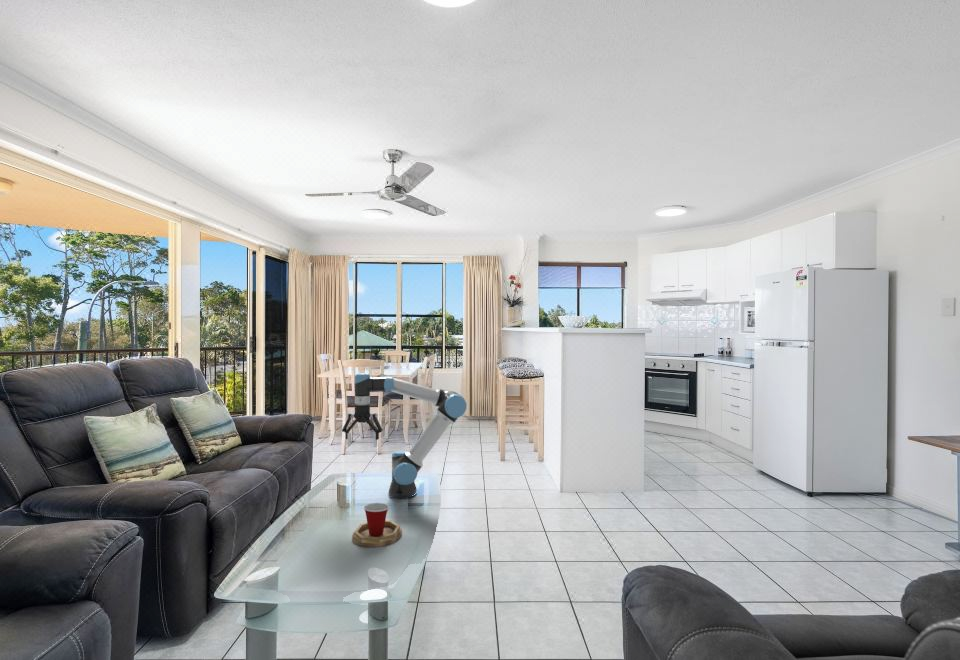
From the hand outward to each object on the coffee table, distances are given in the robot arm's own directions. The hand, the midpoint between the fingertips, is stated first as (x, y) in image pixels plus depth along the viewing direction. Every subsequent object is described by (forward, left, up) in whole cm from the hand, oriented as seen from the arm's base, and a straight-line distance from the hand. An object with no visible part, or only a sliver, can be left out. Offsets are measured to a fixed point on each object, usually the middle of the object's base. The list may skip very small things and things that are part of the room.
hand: (362, 445), depth 226 cm
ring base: (+10, +35, -31) cm, 47 cm away
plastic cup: (+10, +35, -30) cm, 47 cm away
